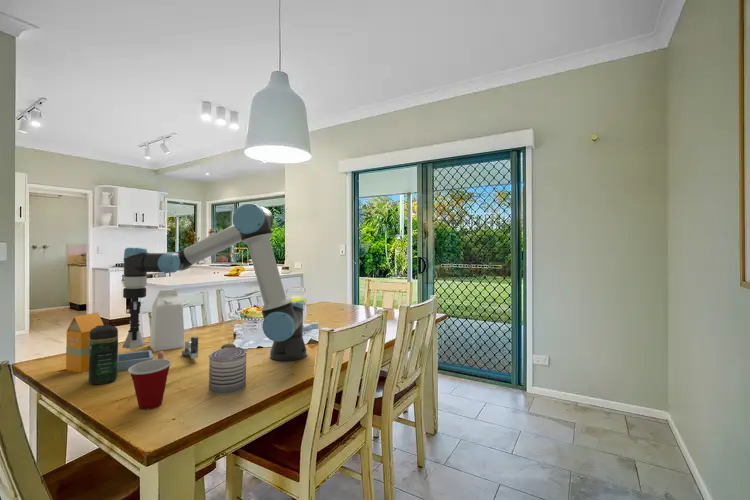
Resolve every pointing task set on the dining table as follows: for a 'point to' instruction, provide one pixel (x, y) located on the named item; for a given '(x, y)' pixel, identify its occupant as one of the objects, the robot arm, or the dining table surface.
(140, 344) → the flask
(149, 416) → the dining table surface
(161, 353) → the stop post
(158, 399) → the plastic cup
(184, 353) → the crank base
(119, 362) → the tray
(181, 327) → the milk
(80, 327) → the orange juice
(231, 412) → the dining table surface
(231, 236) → the robot arm
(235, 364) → the can
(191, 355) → the crank
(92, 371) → the coffee jar
